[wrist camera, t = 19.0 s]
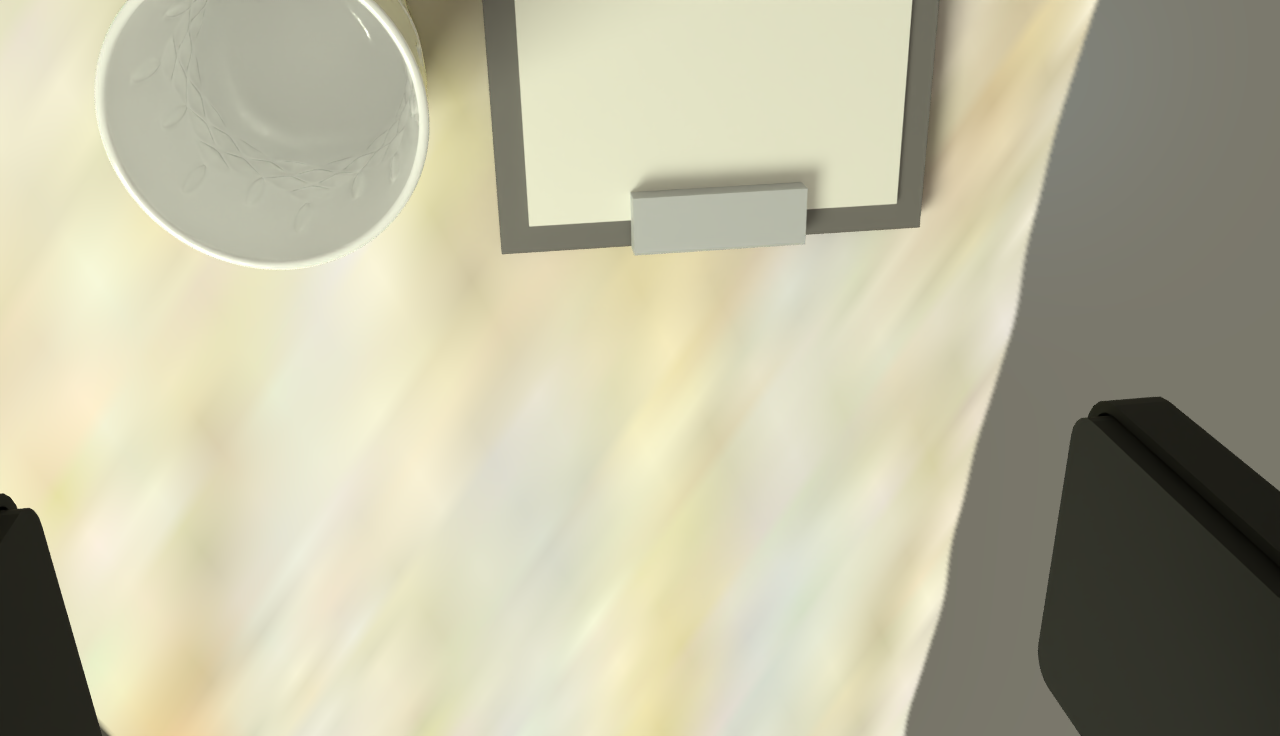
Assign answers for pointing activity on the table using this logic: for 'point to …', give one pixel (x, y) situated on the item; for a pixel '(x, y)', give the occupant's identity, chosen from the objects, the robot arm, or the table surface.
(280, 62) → the white cup
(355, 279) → the table surface
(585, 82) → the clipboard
